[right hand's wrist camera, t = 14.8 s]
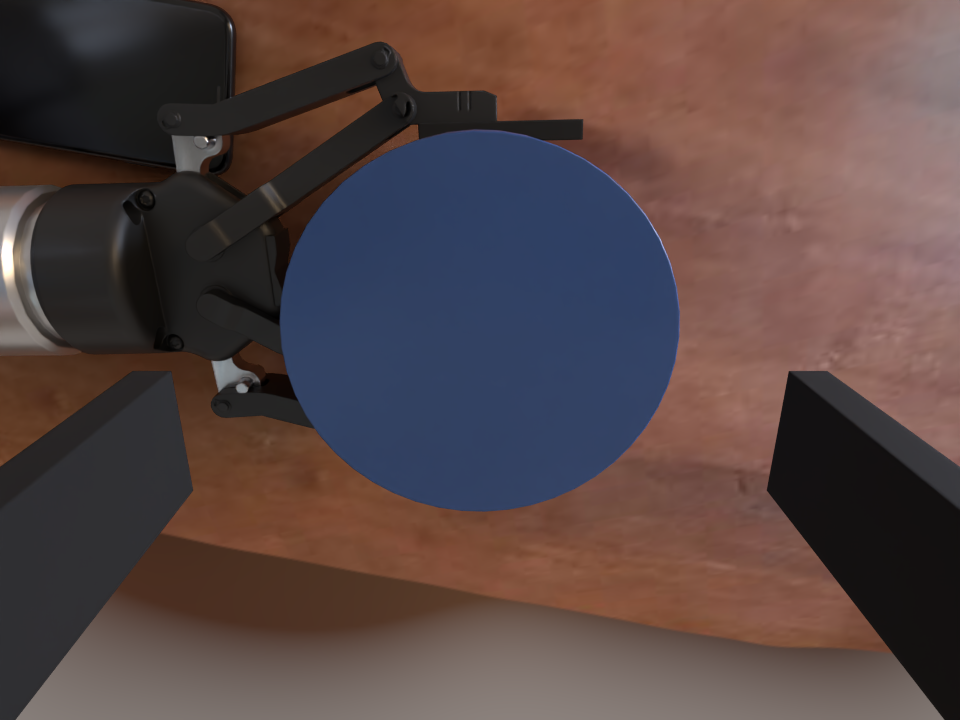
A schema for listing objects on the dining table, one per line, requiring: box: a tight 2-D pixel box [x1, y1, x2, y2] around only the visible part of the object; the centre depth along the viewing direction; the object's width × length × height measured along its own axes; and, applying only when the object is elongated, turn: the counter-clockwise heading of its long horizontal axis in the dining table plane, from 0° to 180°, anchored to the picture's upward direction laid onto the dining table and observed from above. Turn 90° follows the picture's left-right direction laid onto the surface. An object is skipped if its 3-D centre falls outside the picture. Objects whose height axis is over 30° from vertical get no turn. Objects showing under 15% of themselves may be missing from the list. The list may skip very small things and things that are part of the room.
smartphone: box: [0, 0, 236, 176], centre depth 31 cm, size 8×1×16 cm
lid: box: [280, 129, 680, 511], centre depth 19 cm, size 11×11×2 cm
